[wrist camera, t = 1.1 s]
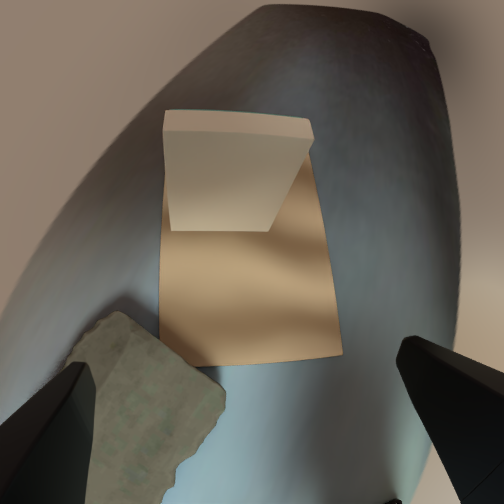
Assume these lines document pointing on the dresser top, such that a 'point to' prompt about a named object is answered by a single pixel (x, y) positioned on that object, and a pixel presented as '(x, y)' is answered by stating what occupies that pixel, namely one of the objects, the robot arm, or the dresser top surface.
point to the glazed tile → (230, 167)
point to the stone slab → (142, 411)
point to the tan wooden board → (251, 287)
